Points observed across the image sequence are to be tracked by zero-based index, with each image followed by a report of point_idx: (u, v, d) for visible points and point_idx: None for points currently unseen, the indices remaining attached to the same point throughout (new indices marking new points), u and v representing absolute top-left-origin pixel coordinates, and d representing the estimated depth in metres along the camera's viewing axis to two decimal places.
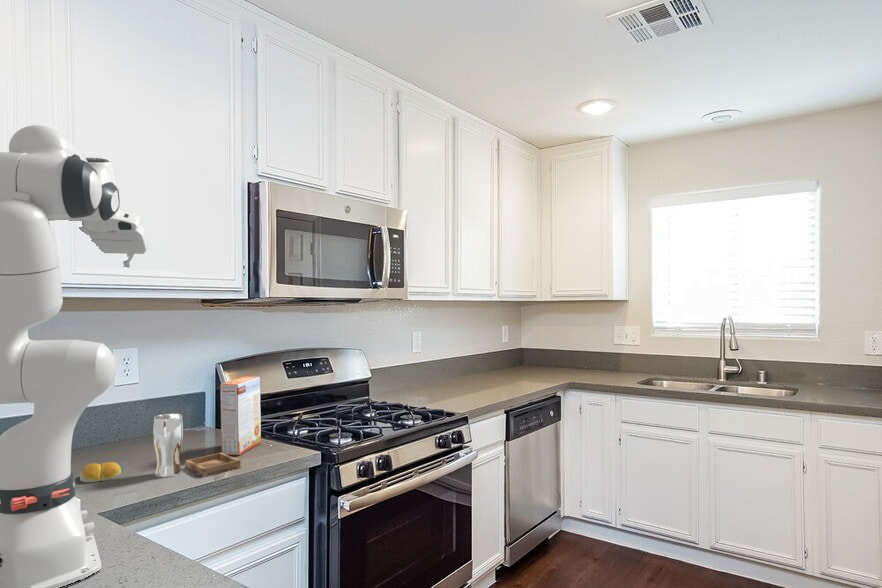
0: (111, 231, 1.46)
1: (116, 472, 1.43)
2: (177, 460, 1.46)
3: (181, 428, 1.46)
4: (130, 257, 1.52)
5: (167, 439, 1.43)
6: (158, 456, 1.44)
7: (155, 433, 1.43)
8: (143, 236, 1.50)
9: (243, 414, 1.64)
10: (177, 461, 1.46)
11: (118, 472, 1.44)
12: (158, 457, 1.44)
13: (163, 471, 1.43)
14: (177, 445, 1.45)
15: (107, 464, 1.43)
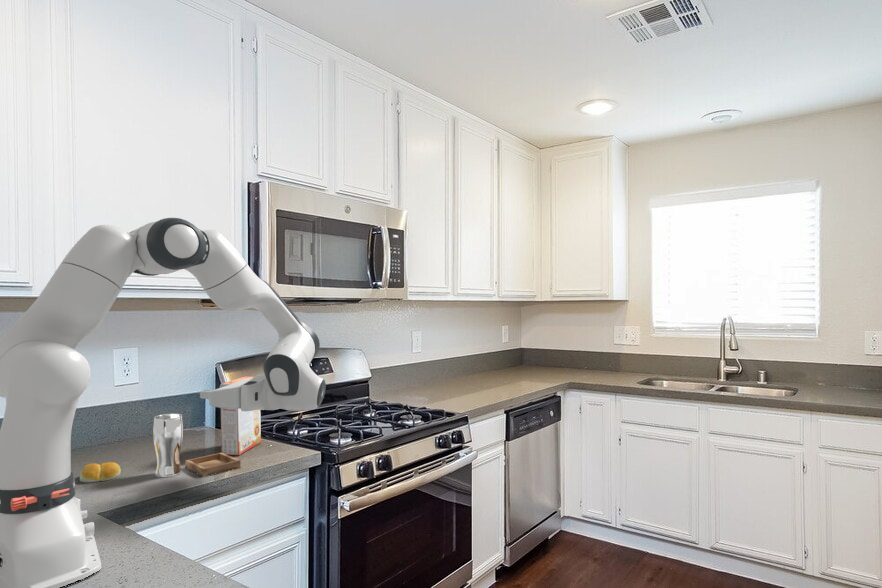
0: None
1: (115, 472, 1.43)
2: (177, 460, 1.46)
3: (181, 428, 1.46)
4: None
5: (167, 439, 1.43)
6: (158, 456, 1.44)
7: (155, 433, 1.43)
8: (228, 394, 1.34)
9: (243, 414, 1.64)
10: (177, 461, 1.46)
11: (118, 472, 1.44)
12: (158, 457, 1.44)
13: (163, 471, 1.43)
14: (177, 445, 1.45)
15: (107, 464, 1.43)
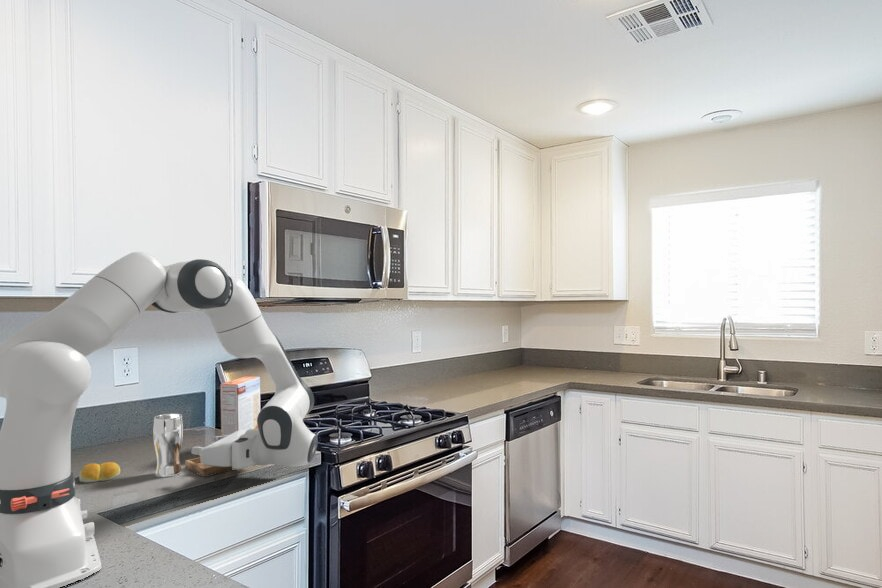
0: None
1: (115, 472, 1.43)
2: (177, 460, 1.46)
3: (181, 428, 1.46)
4: (202, 447, 1.38)
5: (167, 439, 1.43)
6: (158, 456, 1.44)
7: (155, 433, 1.43)
8: (219, 452, 1.34)
9: (243, 414, 1.64)
10: (177, 461, 1.46)
11: (117, 472, 1.44)
12: (158, 457, 1.44)
13: (163, 471, 1.43)
14: (177, 445, 1.45)
15: (106, 464, 1.43)
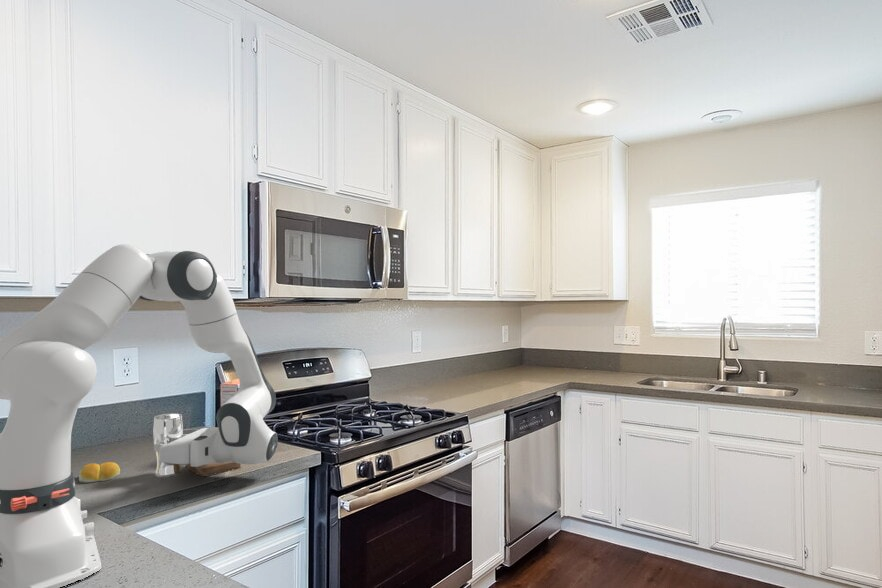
0: None
1: (115, 472, 1.43)
2: None
3: (181, 428, 1.46)
4: (164, 444, 1.41)
5: (167, 439, 1.43)
6: (158, 456, 1.44)
7: (155, 433, 1.43)
8: (177, 450, 1.35)
9: None
10: None
11: (117, 472, 1.44)
12: (158, 457, 1.44)
13: (163, 471, 1.43)
14: None
15: (106, 464, 1.43)
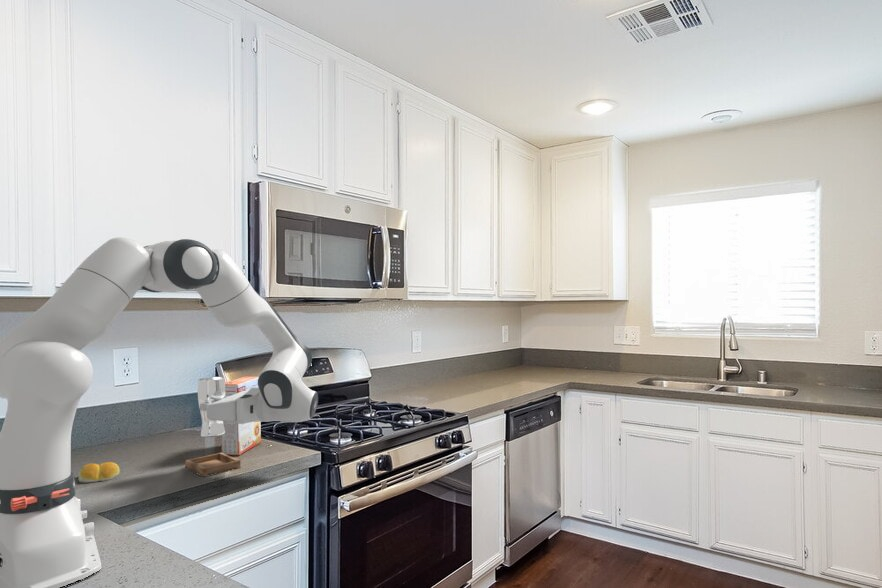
0: None
1: (114, 472, 1.43)
2: (221, 421, 1.50)
3: (224, 390, 1.51)
4: None
5: (212, 400, 1.48)
6: (203, 417, 1.48)
7: (200, 394, 1.48)
8: (224, 407, 1.40)
9: None
10: (221, 422, 1.50)
11: (117, 472, 1.44)
12: (203, 418, 1.48)
13: (208, 431, 1.48)
14: None
15: (106, 464, 1.43)
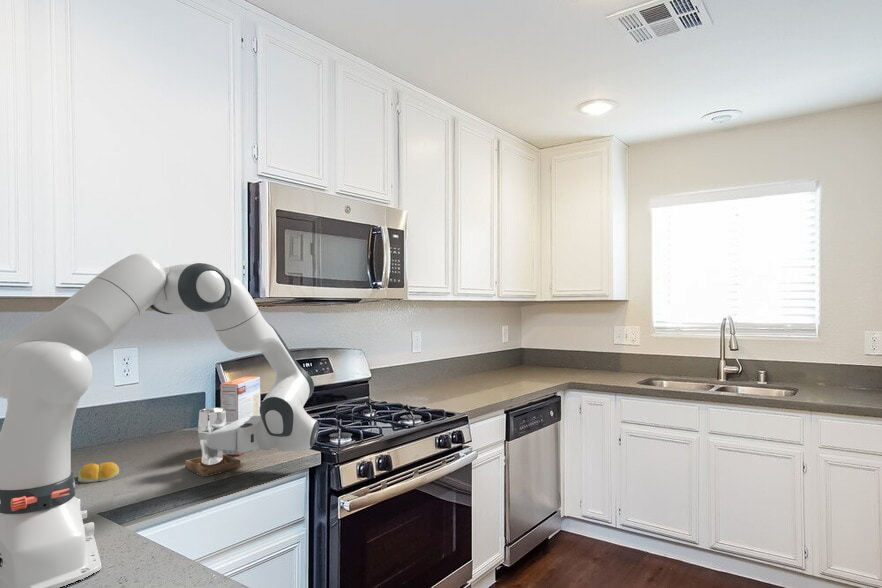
0: None
1: (114, 472, 1.43)
2: (221, 453, 1.50)
3: (225, 422, 1.50)
4: (209, 433, 1.44)
5: None
6: (203, 448, 1.48)
7: (201, 426, 1.47)
8: (225, 437, 1.40)
9: (243, 414, 1.64)
10: (221, 454, 1.50)
11: (116, 472, 1.44)
12: (203, 449, 1.48)
13: (208, 463, 1.48)
14: None
15: (105, 464, 1.43)
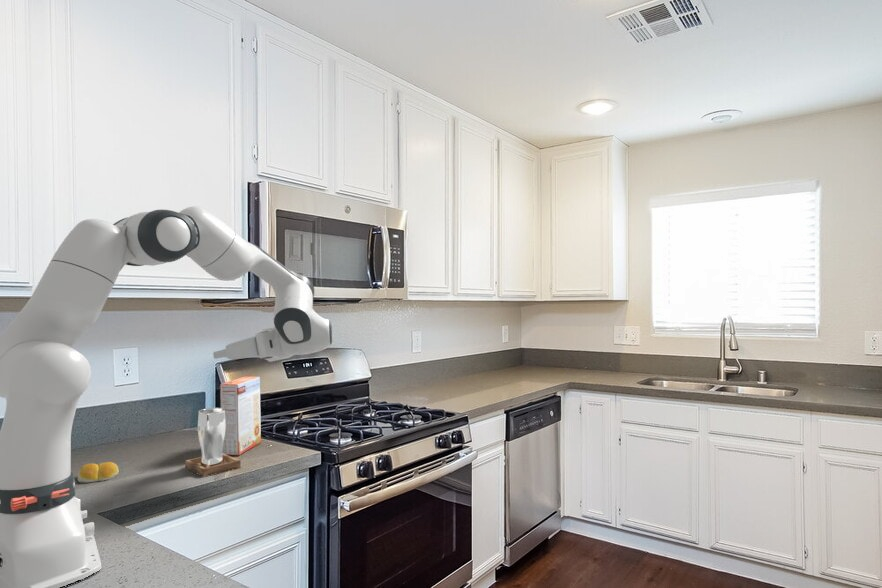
0: None
1: (113, 472, 1.43)
2: (221, 453, 1.50)
3: (224, 422, 1.50)
4: (224, 349, 1.43)
5: (212, 432, 1.47)
6: (203, 449, 1.48)
7: (200, 426, 1.47)
8: (245, 343, 1.40)
9: (243, 414, 1.64)
10: (221, 454, 1.50)
11: (116, 472, 1.44)
12: (203, 450, 1.48)
13: (208, 463, 1.48)
14: (221, 438, 1.49)
15: (105, 464, 1.43)
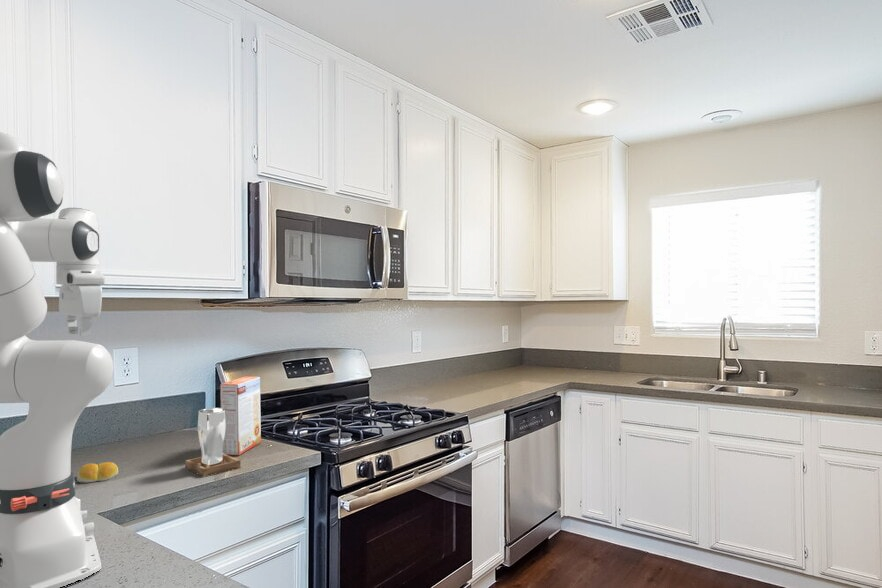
0: None
1: (113, 472, 1.43)
2: (221, 453, 1.50)
3: (224, 422, 1.50)
4: (81, 322, 1.30)
5: (212, 432, 1.47)
6: (203, 449, 1.48)
7: (200, 426, 1.47)
8: (85, 295, 1.27)
9: (243, 414, 1.64)
10: (221, 454, 1.50)
11: (115, 472, 1.44)
12: (203, 450, 1.48)
13: (208, 463, 1.48)
14: (221, 438, 1.49)
15: (104, 464, 1.43)
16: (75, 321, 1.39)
